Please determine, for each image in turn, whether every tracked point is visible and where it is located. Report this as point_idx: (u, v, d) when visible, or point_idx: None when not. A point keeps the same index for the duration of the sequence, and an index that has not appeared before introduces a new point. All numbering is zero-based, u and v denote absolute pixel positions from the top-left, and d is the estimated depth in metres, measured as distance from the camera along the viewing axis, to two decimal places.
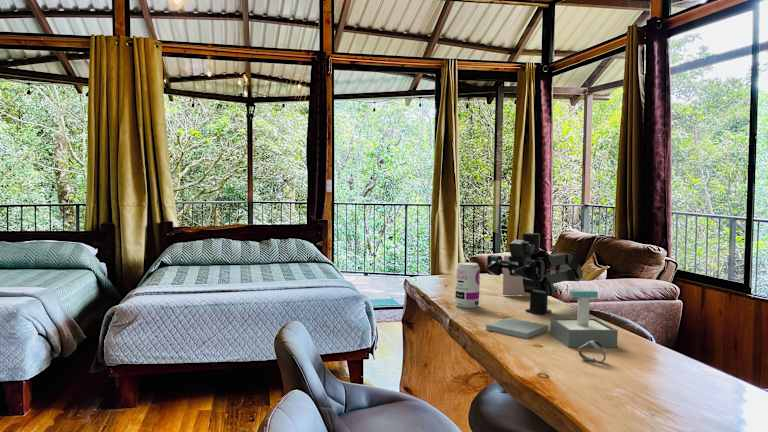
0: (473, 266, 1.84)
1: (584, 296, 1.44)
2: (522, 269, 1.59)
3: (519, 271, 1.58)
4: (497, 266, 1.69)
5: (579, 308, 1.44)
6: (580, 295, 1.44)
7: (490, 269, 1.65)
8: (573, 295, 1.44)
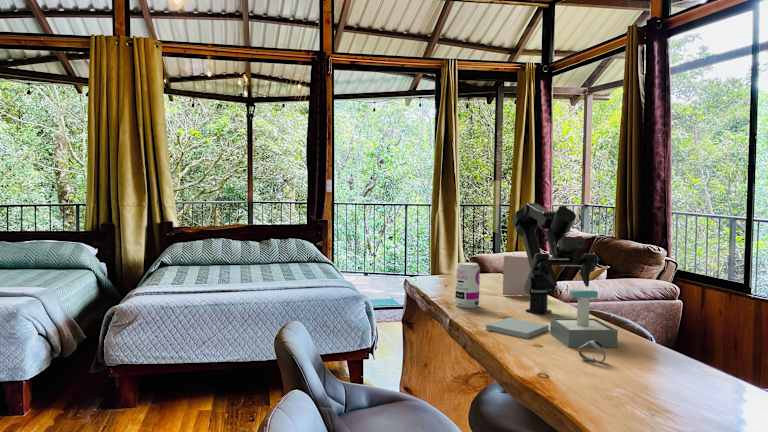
0: (473, 266, 1.84)
1: (584, 296, 1.44)
2: None
3: None
4: None
5: (579, 308, 1.44)
6: (580, 295, 1.44)
7: None
8: (573, 295, 1.44)
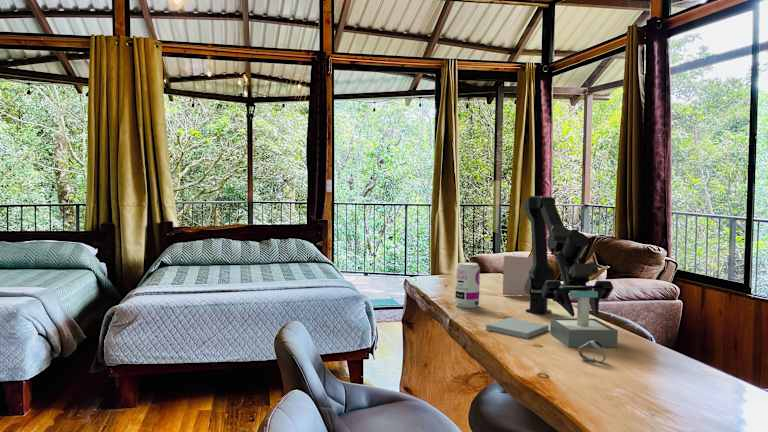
0: (473, 266, 1.84)
1: (584, 296, 1.44)
2: None
3: None
4: None
5: (579, 308, 1.44)
6: (580, 295, 1.44)
7: None
8: (573, 295, 1.44)
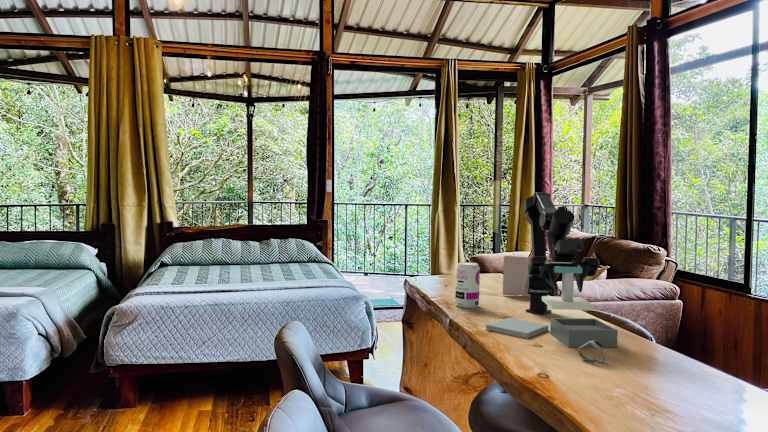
0: (473, 266, 1.84)
1: (568, 272, 1.45)
2: (582, 281, 1.46)
3: None
4: None
5: (563, 284, 1.46)
6: (564, 271, 1.45)
7: None
8: (556, 271, 1.45)
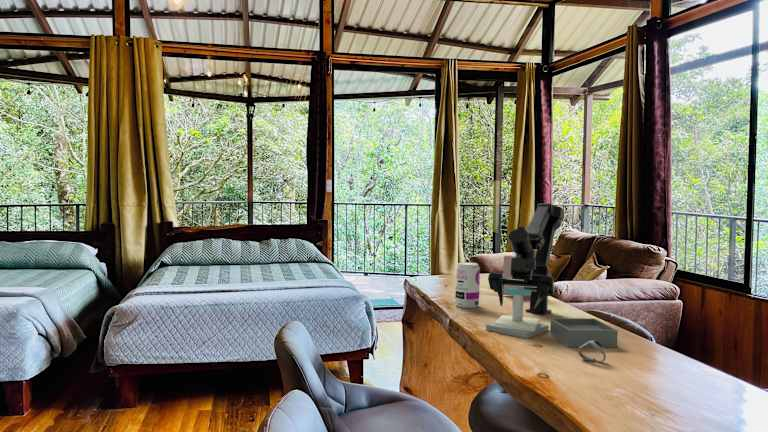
0: (473, 266, 1.84)
1: (517, 293, 1.54)
2: (538, 299, 1.53)
3: (536, 303, 1.53)
4: (502, 287, 1.60)
5: None
6: (513, 292, 1.55)
7: (502, 302, 1.57)
8: (506, 292, 1.56)
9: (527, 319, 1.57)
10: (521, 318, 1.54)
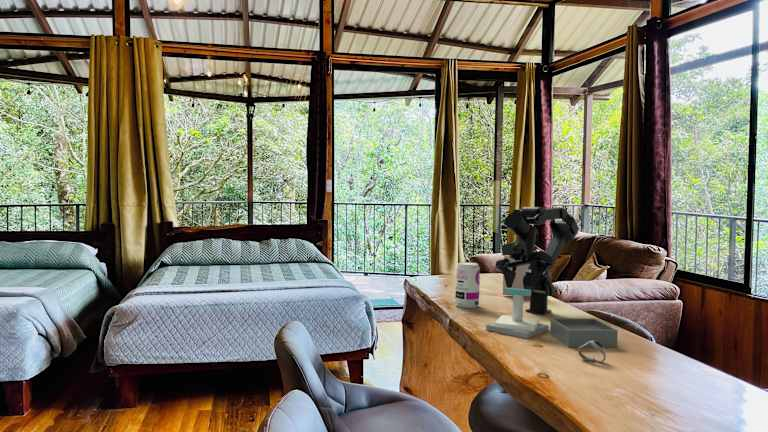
0: (473, 266, 1.84)
1: (517, 293, 1.54)
2: (534, 276, 1.61)
3: (533, 280, 1.61)
4: (510, 271, 1.71)
5: None
6: (513, 292, 1.55)
7: (510, 286, 1.68)
8: (506, 292, 1.56)
9: (527, 319, 1.57)
10: (521, 318, 1.54)
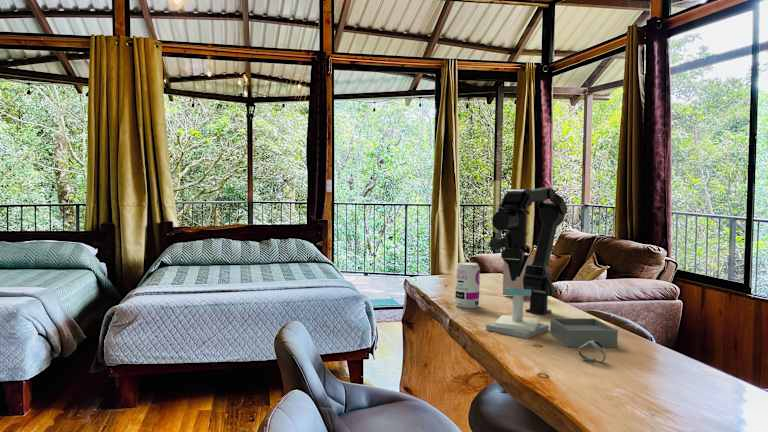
0: (473, 266, 1.84)
1: (517, 293, 1.54)
2: (511, 272, 1.63)
3: (512, 275, 1.63)
4: None
5: None
6: (513, 292, 1.55)
7: (519, 272, 1.72)
8: (506, 292, 1.56)
9: (527, 319, 1.57)
10: (521, 318, 1.54)
